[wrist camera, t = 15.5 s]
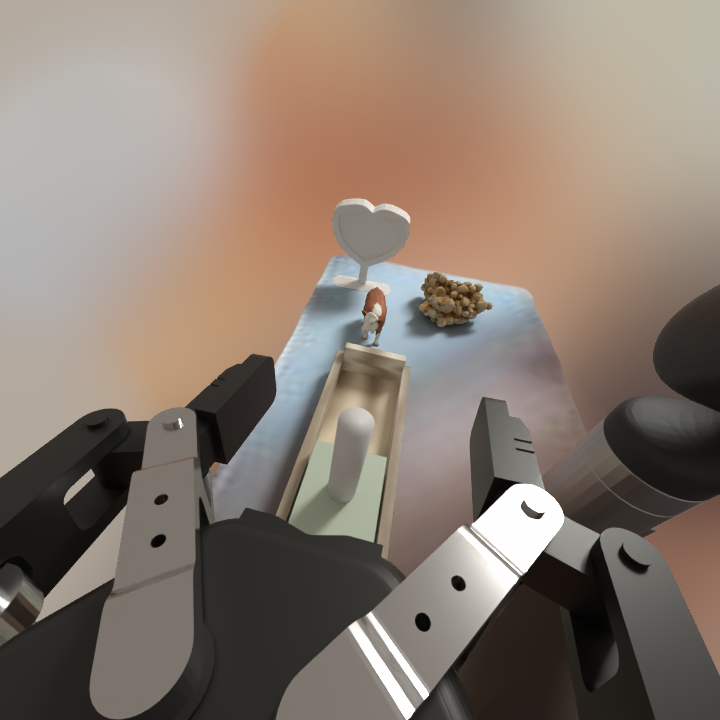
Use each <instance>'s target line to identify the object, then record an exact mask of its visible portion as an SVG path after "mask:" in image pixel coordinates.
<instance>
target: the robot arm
mask: <svg viewBox="0 0 720 720" xmlns="http://www.w3.org/2000/svg"><path fill="white" fill-rule="evenodd" d="M653 362H654V366H655V370H656V372H657V374H658V375H659V377H660V379H661V380H662V381H664V383H665V384H667V385H668V386H669V387H670V388H671V389H673V390H674V391H676V392H677V393H679V394H681V395H682V396H684V397H686V398H688V399H690V400H680V399H670V398H664V397H655V396H638V397H633V398H630V399H628V400H625V401H624V402H622V403H621V404H619V405H618V406H617V407H616V408H615V409H614V410H613V411H612V412H611V413H610V414H609V415H607V416H606V417H605V418H604V419H603V420H602V421H601V422H600V423H599V424H598V425H597V426H596V427H595V428H593V429H592V430H591V431H590V432H589V433H588V434H587V435H586V436H585V437H584V438H583V439H582V440H581V441H580V442H579V443H578V444H577V445H576V446H574V447H573V448H572V449H571V450H570V451H569V452H568V453H567V454H566V455H565V456H564V457H563V458H562V459H561V460H560V461H559V462H557V463H556V464H555V465H554V466H553V467H552V468H551V469H550V470H549V471H548V472H547V473H546V474H545V475H544V476H543V477H541V474H540V470H539V466H538V463H537V459H536V455H535V454H534V448H533V444H532V440H531V437H530V433H529V430H528V428H527V427H526V426H525V425H524V423H523V422H522V421H521V420H520V418H515V417H510V416H509V413H508V408H507V404H506V401H503V400H497V399H492V398H486V397H483V398H482V400H481V402H480V406H479V409H478V412H477V415H476V418H475V421H474V424H473V428H472V431H471V437H470V461H471V481H472V501H473V521H474V524H472V525H471V526H468V525H467V524H465V525H463V526H461V527H460V528H459V529H458V530H457V531H456V532H455V533H454V534H453V535H451V536H450V537H449V538H448V539H447V540H446V541H445V542H444V543H443V544H442V545H441V546H440V547H439V548H438V549H437V550H436V551H435V552H433V553H432V554H431V555H430V556H429V557H428V558H427V559H426V560H425V561H424V562H423V563H422V564H421V565H420V566H419V567H418V568H417V569H415V570H414V571H413V572H412V573H411V574H410V575H409V576H408V577H407V578H406V576H405V575H404V574H403V573H402V572H401V571H400V570H399V569H398V568H397V567H396V566H394V565H393V564H392V563H390V562H389V561H388V560H386V559H384V558H383V557H381V555H382V549H383V545H381V544H377V543H374V542H370V541H366V540H363V539H359V538H355V537H352V536H348V535H309V534H306V533H304V532H303V531H301V530H299V529H298V528H296V527H294V526H293V525H291V524H289V523H288V522H286V521H285V520H283V519H281V518H280V517H278V516H275V515H271V514H267V513H264V512H260V511H256V510H253V509H249V508H245V510H244V511H243V513H242V515H241V516H240V518H235V519H227V520H223V521H218V522H215V517H214V506H213V492H212V478H211V470H210V467H211V466H212V464H213V463H214V462H219V463H222V464H226V465H227V464H228V463H229V461H230V460H231V459H232V457H233V456H234V455H235V453H236V452H237V451H238V449H239V448H240V447H241V445H242V444H243V443H244V441H245V440H246V439H247V437H248V436H249V435H250V433H251V432H252V430H253V429H254V428H255V426H256V425H257V424H258V422H259V421H260V420H261V418H262V417H263V416H264V414H265V413H266V412H267V410H268V409H269V408H270V406H271V405H272V403H273V402H274V399H275V396H276V380H275V369H274V361H273V358H272V357H268V356H262V355H256V354H252V355H250V356H249V357H248V358H247V359H246V360H245V361H244V362H243V363H242V364H236V365H234V366H232V367H230V368H228V369H226V370H225V371H224V372H223V373H222V374H221V375H219V377H218V378H217V379H215V380H214V381H213V382H212V383H211V384H210V386H208V387H207V388H205V389H204V390H203V391H202V392H201V393H200V394H199V395H198V396H197V397H196V398H195V399H193V400H192V401H191V402H190V403H189V404H188V405H187V406H186V407H185V408H172V409H168V410H165V411H163V412H161V413H159V414H157V415H156V416H154V418H152V419H151V420H150V421H132V422H127V420H126V417H125V415H124V413H123V412H122V411H121V410H118V409H102V410H98V411H94V412H92V413H89V414H87V415H85V416H83V417H82V418H80V419H79V420H77V421H76V422H75V423H73V424H72V425H71V426H69V427H68V428H67V429H65V430H64V431H63V432H61V433H60V434H59V435H57V436H56V437H55V438H53V439H52V440H51V441H49V442H48V443H47V444H45V445H44V446H43V447H41V448H40V449H39V450H37V451H36V452H35V453H33V454H32V455H31V456H29V457H28V458H27V459H25V460H24V461H23V462H21V463H20V464H19V465H17V466H16V467H15V468H13V469H12V470H11V471H9V472H8V473H6V474H5V475H4V476H2V477H1V478H0V720H479V719H478V717H477V715H476V712H475V710H474V708H473V706H472V704H471V702H470V700H469V698H468V696H467V694H466V692H465V690H464V688H463V686H462V684H461V682H460V680H459V678H458V675H457V674H458V672H459V671H460V670H461V668H462V667H463V666H464V664H465V663H466V662H467V660H468V659H469V658H470V656H471V655H472V654H473V652H474V651H475V650H476V648H477V647H478V645H479V644H480V643H481V641H482V640H483V638H484V637H485V635H486V634H487V632H488V631H489V630H490V628H491V627H492V626H493V624H494V623H495V621H496V620H497V619H498V618H499V616H500V615H501V614H502V612H503V611H504V610H505V608H506V607H507V606H508V604H509V603H510V602H511V600H512V599H513V598H514V596H515V595H516V594H517V592H518V591H519V590H520V588H521V587H522V586H523V584H525V585H527V586H529V587H530V588H532V589H534V590H535V591H537V592H539V593H540V594H542V595H544V596H545V597H547V598H549V599H550V600H552V601H554V602H555V603H557V604H559V607H560V613H561V618H562V624H563V630H564V635H565V641H566V647H567V653H568V658H569V664H570V670H571V675H572V681H573V687H574V692H575V698H576V704H577V709H578V715H579V720H720V676H719V674H718V671H717V669H716V667H715V665H714V663H713V661H712V659H711V656H710V654H709V652H708V650H707V648H706V645H705V643H704V641H703V639H702V637H701V635H700V632H699V630H698V628H697V626H696V624H695V622H694V620H693V617H692V615H691V613H690V611H689V609H688V607H687V604H686V603H685V600H684V598H683V596H682V594H681V591H680V589H679V587H678V585H677V583H676V581H675V578H674V576H673V574H672V572H671V570H670V568H669V566H668V564H667V562H666V560H665V559H664V557H663V556H662V555H661V554H660V552H659V551H658V550H657V549H656V548H655V547H654V546H652V545H651V544H650V543H649V542H648V541H646V540H645V539H644V537H645V536H648V535H649V534H652V533H653V532H655V531H656V530H657V526H658V525H659V524H661V523H663V522H665V521H667V520H669V519H671V518H673V517H675V516H677V515H679V514H681V513H683V512H685V511H687V510H688V509H690V508H692V507H694V506H696V505H698V504H700V503H702V502H704V501H706V500H709V499H711V498H713V497H714V496H717V495H719V494H720V285H718V286H716V287H714V288H712V289H711V290H709V291H707V292H705V293H704V294H702V295H700V296H699V297H697V298H696V299H694V300H693V301H691V302H690V303H689V304H687V305H686V306H685V307H683V308H682V309H681V310H680V311H679V312H678V313H677V314H675V315H674V316H673V317H672V318H671V319H670V321H669V322H668V323H667V324H666V326H665V327H664V328H663V330H662V331H661V333H660V334H659V336H658V339H657V341H656V343H655V347H654V352H653ZM90 469H92V471H93V472H94V474H95V477H94V478H93V479H91V480H90V481H89V482H88V483H87V484H86V485H85V486H84V487H83V488H82V489H81V490H80V491H79V492H78V493H77V494H76V495H75V496H74V497H73V498H71V499H70V501H68V502H67V503H66V504H65V505H64V497H65V495H66V493H67V491H68V490H69V489H70V487H71V486H73V485H74V484H75V483H76V482H77V481H78V480H79V479H80V478H81V477H82V476H84V474H86V473H87V472H88V471H89V470H90ZM126 504H127V507H126V513H125V519H124V526H123V532H122V538H121V544H120V550H119V557H118V562H117V568H116V575H115V578H113V579H112V580H110V581H108V582H106V583H105V584H103V585H101V586H99V587H98V588H96V589H95V590H92V591H91V592H89V593H87V594H85V595H84V596H82V597H80V598H79V599H77V600H75V601H73V602H72V603H70V604H68V605H66V606H65V607H63V608H61V609H60V610H58V611H56V612H54V613H53V614H51V615H49V616H47V617H45V618H44V619H42V620H40V621H39V622H37V623H36V621H35V620H36V618H37V617H38V615H39V613H40V611H41V609H42V607H43V602H44V598H45V597H46V596H47V595H48V594H49V592H50V591H51V590H52V589H53V588H54V587H55V586H56V584H57V583H58V582H59V581H60V580H61V579H62V578H63V576H64V575H65V574H66V573H67V572H68V571H69V570H70V568H71V567H72V566H73V565H74V564H75V563H76V561H77V560H78V559H79V558H80V557H81V556H82V555H83V554H84V552H85V551H86V550H87V549H88V548H89V547H90V545H91V544H92V543H93V542H94V541H95V540H96V539H97V538H98V536H99V535H100V534H101V533H102V532H103V531H104V530H105V528H106V527H107V526H108V525H109V524H110V523H111V522H112V520H113V519H114V518H115V517H116V516H117V515H118V514H119V512H120V511H121V510H122V509H123V508H124V507H125V506H126Z"/></svg>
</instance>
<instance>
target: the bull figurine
mask: <svg viewBox="0 0 720 720" xmlns="http://www.w3.org/2000/svg"><path fill="white" fill-rule="evenodd" d="M362 313H363V315H364V321H363V326H362V327H361V330H362V331H363V332H365V333H364V335H363V337H362V338H363V339H364V340H366V339H367V337H368V331H369V330H370V332H371V333H372V334H373V333H374V332H375V331H376V338H375V340H374V345H375V346H378V345H379V339H378V338H379V336H380V332H381V330H382V327H383V325H384V323H385V318H386V313H387V308H386V304H385V296H384V293H383V291H382V290H380V289H379V288H378V287H376V288H374V289H371V290H370V291H369V292H368V294H367V297H366V300H365V306H364V310H362Z"/></svg>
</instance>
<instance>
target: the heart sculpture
mask: <svg viewBox="0 0 720 720" xmlns="http://www.w3.org/2000/svg"><path fill="white" fill-rule="evenodd" d="M332 223H333V233H334V235H335V237H336V239H337V241H338V243H339V245H340V246H341V248H342V249H343V250H344V251H345V252H346V253H347V254H348V255H349V256H350V257H351V258H353V259H354V260H355V261H356V262H357V263H359V264H360V265H361V267H360V274H359V279H358V278H353V277H348V276H342V275H338V276H336V277H335V278H334V279H333V283H334V284H335V286H340V287H345V288H350V289H355V290H360V291H365V292H369V291H370V290H371V289H374V288H376V287H378V288H379V289H380V290H382V291H383V293H384V295H387V294H388V293H389V292H390V291H391V290H390V288H389V286H388V285H387V284H383V283H378V282H373V281H368V280H366V279H367V273H368V268H369V266H371V265H375V264H378V263H381V262H383V261H385V260H387V259H389V258H391V257H393V256H395V255H396V254H397V253H398V252H399V251H400V250H401V249H402V248H403V247H404V245H405V243H406V240H407V238H408V236H409V228H410V217H409V215H408V214H407V213H406V212H405V211H403V210H402V209H400V208H398V207H396V206H394V205H390V204H381V205H378V206H376V207H374V206H373V205H372V204H371V203H370V202H369V201H367V200H365V199H359V198H358V199H347V200H343V201H341V202H340V203H338V205H337V206H336V208H335V210H334V214H333V218H332Z"/></svg>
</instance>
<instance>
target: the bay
mask: <svg viewBox="0 0 720 720" xmlns="http://www.w3.org/2000/svg"><path fill="white" fill-rule="evenodd" d="M405 362H406V356H403V355H399V354H394V353H390V352H386V351H382V350H377V349H373V348H369V347H365V346H361V345H356V344H352V343H348V342H347V343H346V346H345V351H341V350H338V352H337V355H336V357H335V360H334V363H333V365H332V368H331V371H330V373H329V376H328V378H327V381H326V384H325V386H324V389H323V392H322V394H321V397H320V400H319V402H318V405H317V407H316V410H315V413H314V415H313V418H312V421H311V423H310V426H309V429H308V431H307V434H306V436H305V439H304V442H303V444H302V447H301V450H300V452H299V455H298V458H297V460H296V463H295V465H294V468H293V471H292V473H291V476H290V479H289V481H288V484H287V486H286V489H285V492H284V494H283V497H282V500H281V502H280V505H279V508H278V510H277V513H276V515H275V516H278V517H280V518H281V519H283V520H285V521H286V522H289V519H290V516H291V513H292V510H293V507H294V505H295V502H296V499H297V496H298V493H299V490H300V487H301V484H302V482H303V479H304V476H305V473H306V470H307V467H308V464H309V461H310V458H311V456H312V453H313V450H314V447H315V444H316V441H317V440H319V441H323V442H327V443H331V444H334V442H335V436H336V429H337V423H338V417H339V415H340V413H341V412H342V411H343V410H345V409H347V408H350V407H359V408H363V409H365V410H367V411H368V412H369V413H370V414H371V415H372V416H373V418H374V421H375V426H374V430H373V433H372V437H371V440H370V444H369V447H368V451H367V453H371V454H375V455H379V456H383V457H387V461H386V467H385V474H384V480H383V486H382V493H381V499H380V506H379V512H378V519H377V525H376V532H375V538H374V543H377V544H381V545H383V549H382V555H381V557H383V558H384V559H386V560H387V557H388V549H389V541H390V532H391V524H392V516H393V508H394V500H395V492H396V484H397V476H398V468H399V459H400V451H401V443H402V435H403V427H404V419H405V411H406V403H407V395H408V387H409V378H410V370H411V367H408V366H404V365H405Z"/></svg>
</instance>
